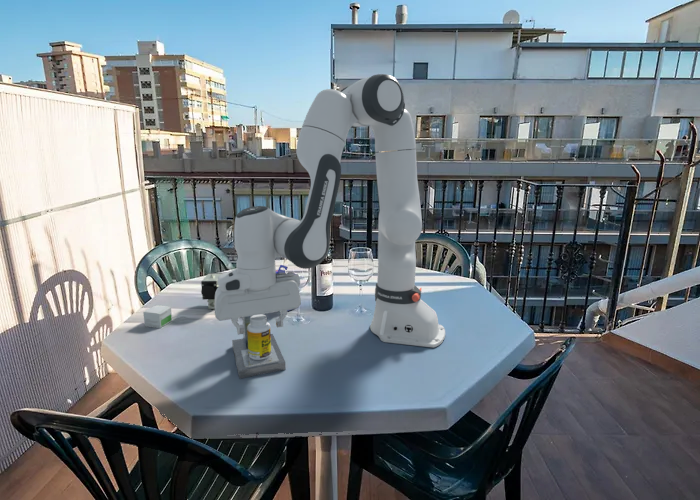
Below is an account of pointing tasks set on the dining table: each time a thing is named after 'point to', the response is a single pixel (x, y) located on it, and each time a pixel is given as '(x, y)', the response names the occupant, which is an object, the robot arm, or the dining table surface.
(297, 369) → the dining table surface
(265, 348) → the supplement bottle
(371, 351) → the dining table surface
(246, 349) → the press
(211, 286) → the pneumatic valve
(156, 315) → the small box
